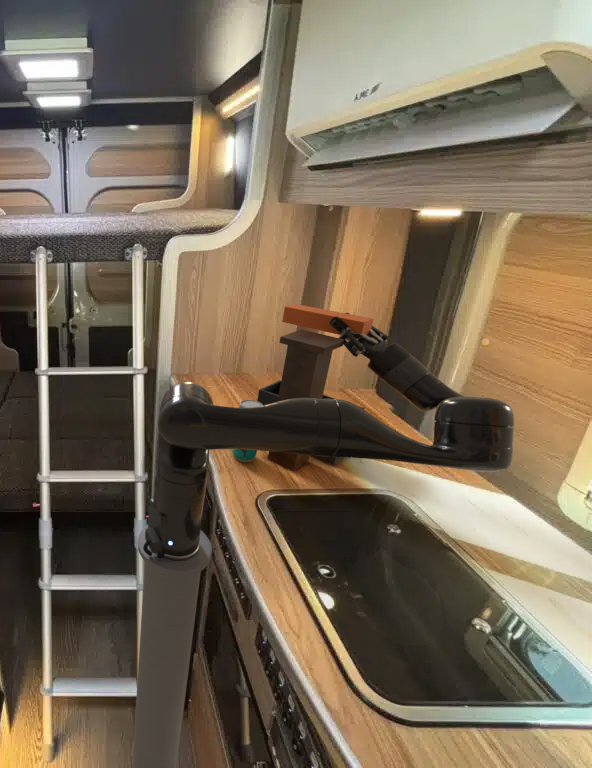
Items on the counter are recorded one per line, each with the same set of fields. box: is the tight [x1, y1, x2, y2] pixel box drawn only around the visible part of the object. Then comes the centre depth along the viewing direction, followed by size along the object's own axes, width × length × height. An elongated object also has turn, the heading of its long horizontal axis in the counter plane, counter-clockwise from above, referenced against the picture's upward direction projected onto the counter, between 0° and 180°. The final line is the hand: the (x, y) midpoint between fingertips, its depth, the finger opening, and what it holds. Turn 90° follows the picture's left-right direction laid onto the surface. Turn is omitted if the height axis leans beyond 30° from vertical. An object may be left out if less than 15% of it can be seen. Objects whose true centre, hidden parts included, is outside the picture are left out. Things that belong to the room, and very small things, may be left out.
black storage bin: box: [256, 379, 366, 466], centre depth 123 cm, size 23×10×13 cm, turn 38°
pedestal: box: [267, 328, 344, 472], centre depth 110 cm, size 10×9×32 cm
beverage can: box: [232, 399, 263, 463], centre depth 115 cm, size 6×6×15 cm
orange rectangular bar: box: [281, 303, 374, 340], centre depth 112 cm, size 19×5×4 cm, turn 38°
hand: (338, 317), depth 110 cm, fingers closed on orange rectangular bar, 4 cm apart
